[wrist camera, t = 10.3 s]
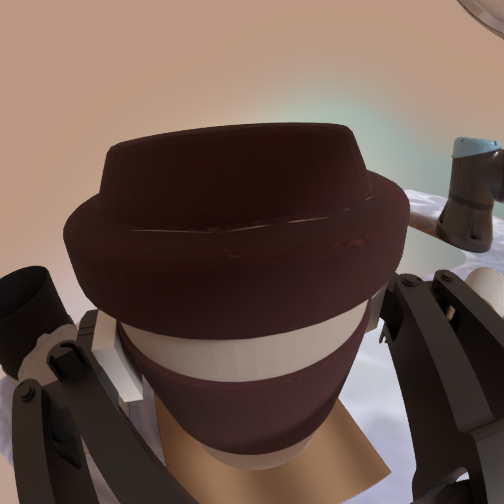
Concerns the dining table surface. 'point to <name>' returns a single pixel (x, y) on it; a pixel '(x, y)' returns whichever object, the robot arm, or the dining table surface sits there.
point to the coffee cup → (241, 274)
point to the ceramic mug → (487, 288)
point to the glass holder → (33, 326)
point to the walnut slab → (281, 477)
